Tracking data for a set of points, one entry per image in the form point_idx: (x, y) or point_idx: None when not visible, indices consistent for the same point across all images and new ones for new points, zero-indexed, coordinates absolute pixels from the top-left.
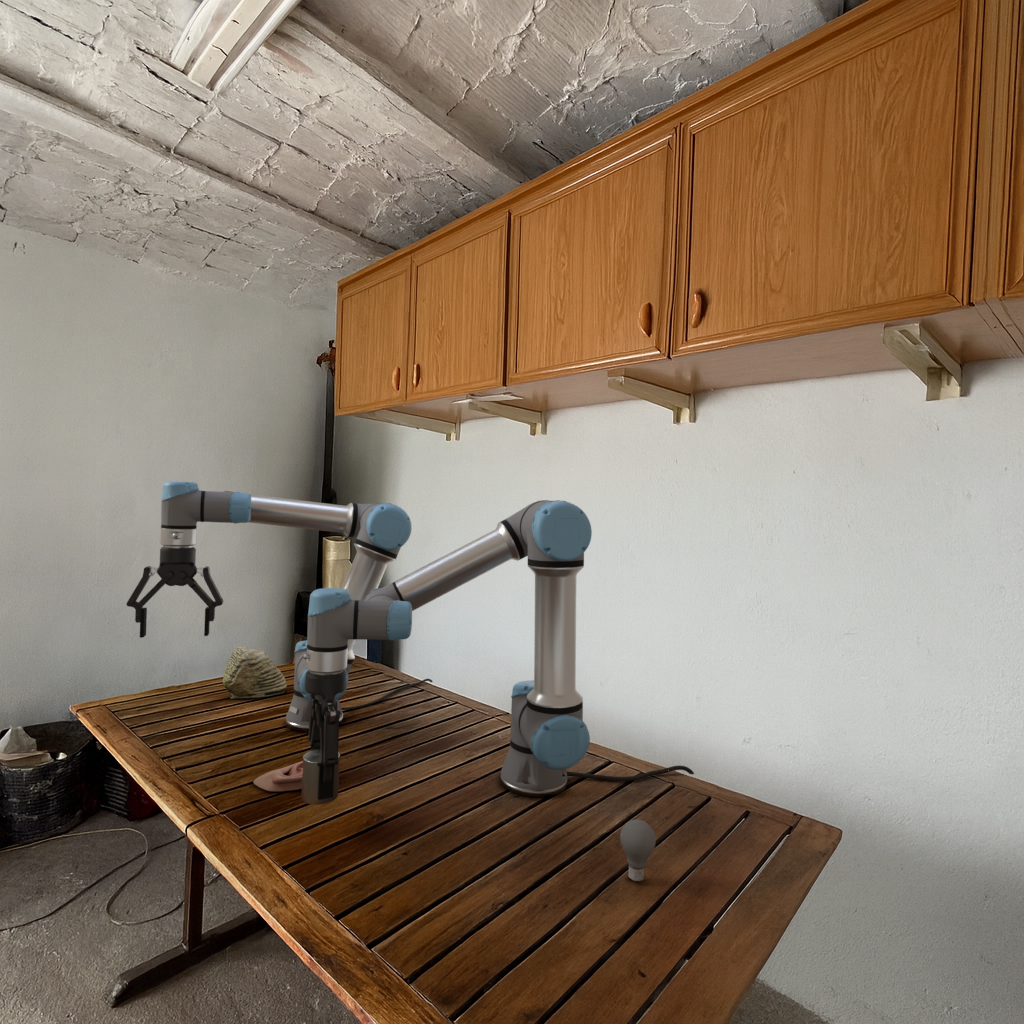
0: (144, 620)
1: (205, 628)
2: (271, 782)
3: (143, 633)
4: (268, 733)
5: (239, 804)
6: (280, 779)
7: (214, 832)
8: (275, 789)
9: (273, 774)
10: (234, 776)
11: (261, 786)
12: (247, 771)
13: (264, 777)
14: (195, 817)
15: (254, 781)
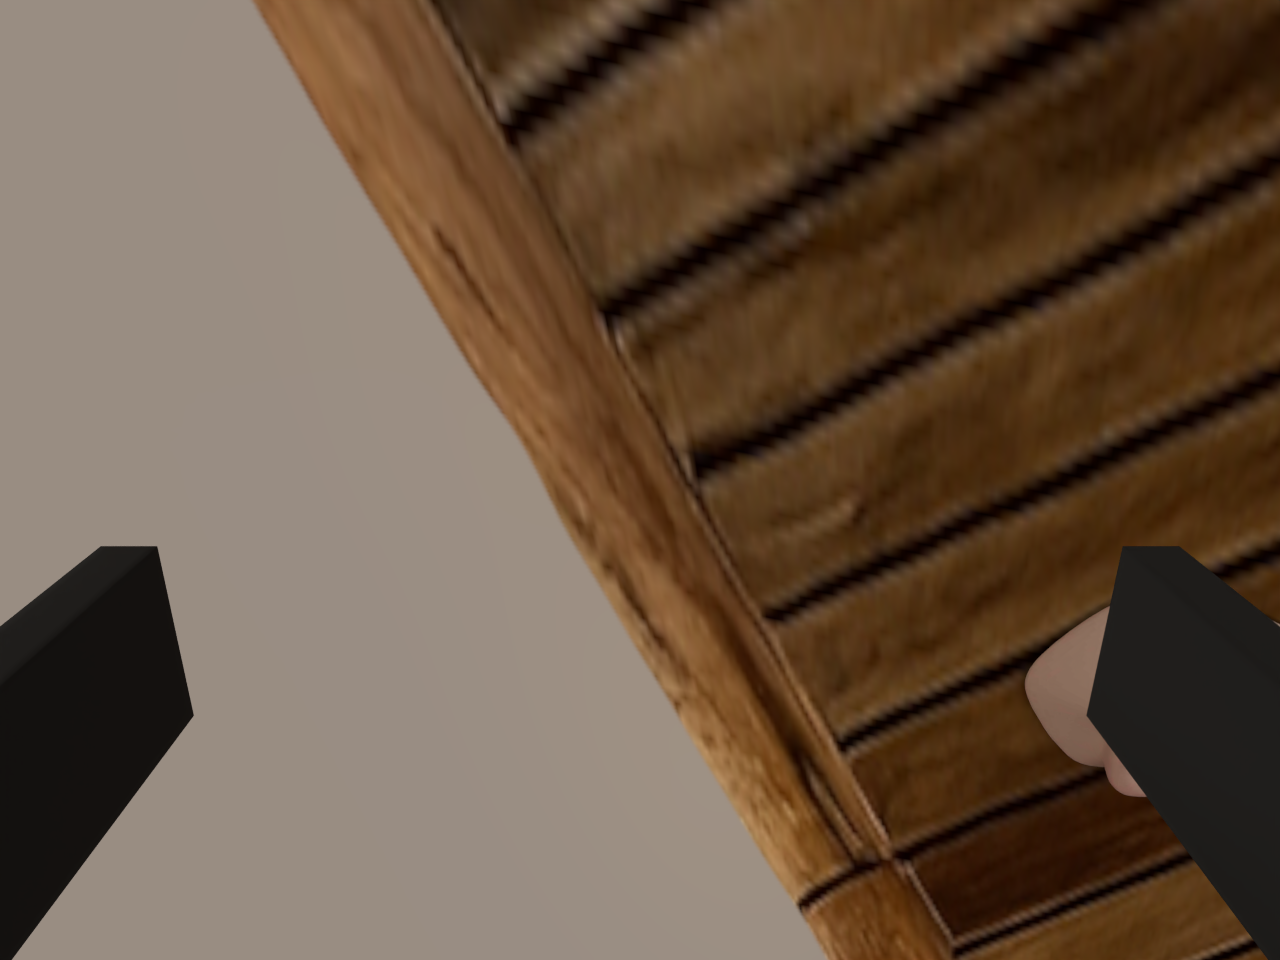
0: (12, 893)
1: (1169, 801)
2: (1097, 752)
3: (162, 755)
4: (1184, 21)
5: (959, 815)
6: (1138, 796)
7: (878, 954)
8: (1100, 766)
9: (1119, 764)
10: (950, 592)
11: (1052, 734)
12: (1008, 554)
13: (1077, 710)
14: (816, 866)
15: (1030, 690)
